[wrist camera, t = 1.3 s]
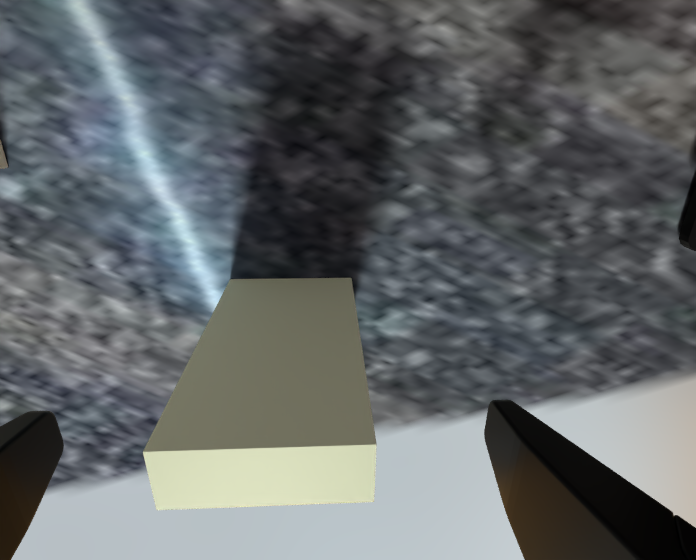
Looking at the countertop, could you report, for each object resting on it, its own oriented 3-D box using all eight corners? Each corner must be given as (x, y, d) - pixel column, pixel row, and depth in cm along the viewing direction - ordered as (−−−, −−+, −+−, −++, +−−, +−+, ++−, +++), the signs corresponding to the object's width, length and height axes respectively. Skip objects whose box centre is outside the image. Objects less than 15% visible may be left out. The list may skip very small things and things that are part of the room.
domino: (351, 277, 14) (377, 444, 8) (350, 314, 15) (373, 502, 8) (230, 279, 14) (142, 451, 7) (234, 316, 15) (156, 510, 8)
